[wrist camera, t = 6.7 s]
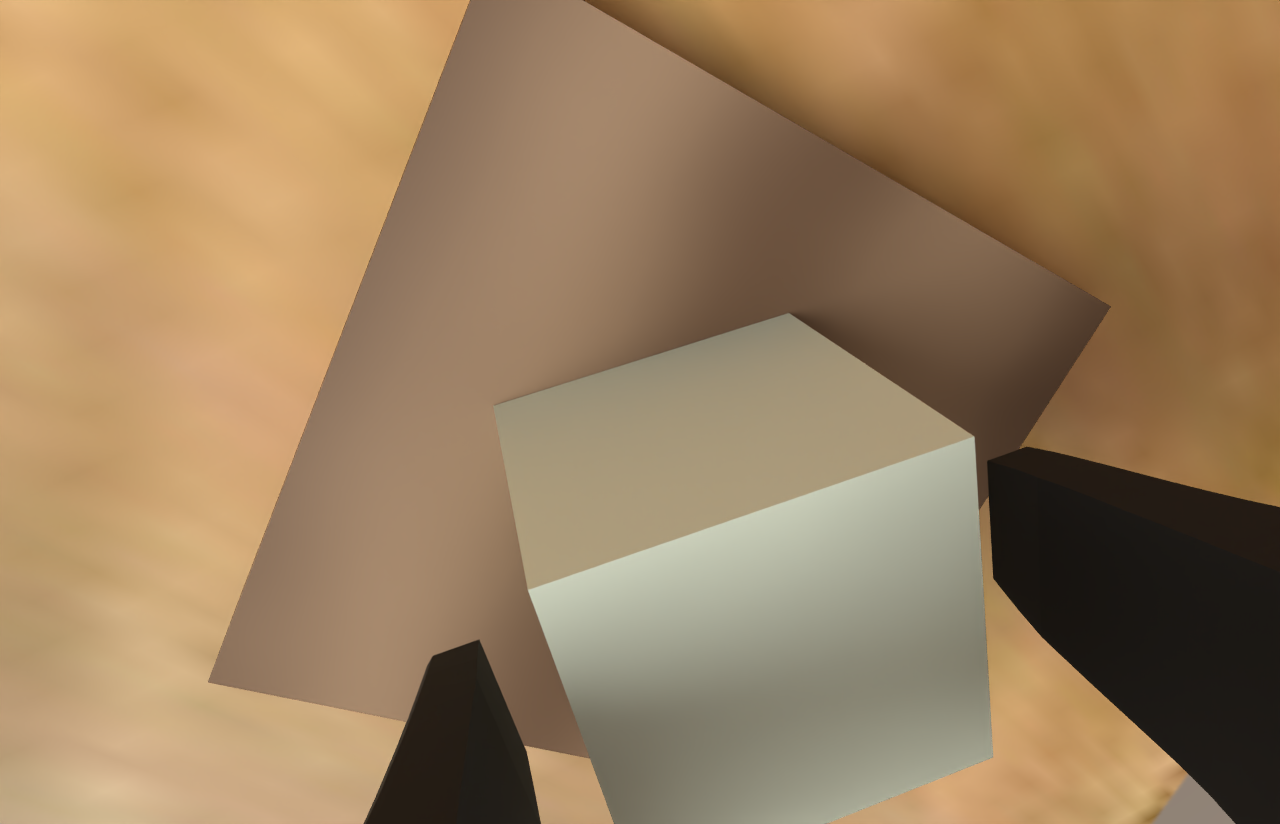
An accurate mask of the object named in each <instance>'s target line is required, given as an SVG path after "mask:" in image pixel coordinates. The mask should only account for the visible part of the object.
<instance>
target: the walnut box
mask: <svg viewBox="0 0 1280 824" xmlns="http://www.w3.org/2000/svg"><path fill="white" fill-rule="evenodd" d="M1110 307H1111V306H1109V305H1107V304H1106V303H1104V302H1102V301H1101V300H1099V299H1097V298H1095V297H1094V296H1092V295H1090V294H1088V293H1087V292H1085V291H1083V290H1082V289H1080V288H1078V287H1076V286H1075V285H1073V284H1071V283H1069V282H1068V281H1066V280H1064V279H1063V278H1061V277H1059V276H1057V275H1056V274H1054V273H1052V272H1051V271H1049V270H1047V269H1045V268H1044V267H1042V266H1040V265H1038V264H1037V263H1035V262H1033V261H1032V260H1030V259H1028V258H1026V257H1025V256H1023V255H1021V254H1019V253H1018V252H1016V251H1014V250H1013V249H1011V248H1009V247H1007V246H1006V245H1004V244H1002V243H1001V242H999V241H997V240H995V239H994V238H992V237H990V236H988V235H987V234H985V233H983V232H982V231H980V230H978V229H976V228H975V227H973V226H971V225H969V224H968V223H966V222H964V221H963V220H961V219H959V218H957V217H956V216H954V215H952V214H951V213H949V212H947V211H945V210H944V209H942V208H940V207H938V206H937V205H935V204H933V203H932V202H930V201H928V200H926V199H925V198H923V197H921V196H919V195H918V194H916V193H914V192H913V191H911V190H909V189H907V188H906V187H904V186H902V185H900V184H899V183H897V182H895V181H894V180H892V179H890V178H888V177H887V176H885V175H883V174H882V173H880V172H878V171H876V170H875V169H873V168H871V167H869V166H868V165H866V164H864V163H863V162H861V161H859V160H857V159H856V158H854V157H852V156H850V155H849V154H847V153H845V152H844V151H842V150H840V149H838V148H837V147H835V146H833V145H832V144H830V143H828V142H826V141H825V140H823V139H821V138H819V137H818V136H816V135H814V134H813V133H811V132H809V131H807V130H806V129H804V128H802V127H800V126H799V125H797V124H795V123H794V122H792V121H790V120H788V119H787V118H785V117H783V116H782V115H780V114H778V113H776V112H775V111H773V110H771V109H769V108H768V107H766V106H764V105H763V104H761V103H759V102H757V101H756V100H754V99H752V98H750V97H749V96H747V95H745V94H744V93H742V92H740V91H738V90H737V89H735V88H733V87H732V86H730V85H728V84H726V83H725V82H723V81H721V80H719V79H718V78H716V77H714V76H713V75H711V74H709V73H707V72H706V71H704V70H702V69H700V68H699V67H697V66H695V65H694V64H692V63H690V62H688V61H687V60H685V59H683V58H682V57H680V56H678V55H676V54H675V53H673V52H671V51H669V50H668V49H666V48H664V47H663V46H661V45H659V44H657V43H656V42H654V41H652V40H650V39H649V38H647V37H645V36H644V35H642V34H640V33H638V32H637V31H635V30H633V29H632V28H630V27H628V26H626V25H625V24H623V23H621V22H619V21H618V20H616V19H614V18H613V17H611V16H609V15H607V14H606V13H604V12H602V11H600V10H599V9H597V8H595V7H594V6H592V5H590V4H588V3H587V2H585V1H583V0H470V2H469V4H468V7H467V9H466V12H465V15H464V17H463V20H462V22H461V25H460V28H459V30H458V33H457V35H456V38H455V41H454V43H453V46H452V48H451V51H450V54H449V56H448V59H447V61H446V64H445V66H444V69H443V72H442V74H441V77H440V79H439V82H438V85H437V87H436V90H435V92H434V95H433V98H432V100H431V103H430V105H429V108H428V111H427V113H426V116H425V118H424V121H423V124H422V126H421V129H420V131H419V134H418V137H417V139H416V142H415V144H414V147H413V149H412V152H411V155H410V157H409V160H408V162H407V165H406V168H405V170H404V173H403V175H402V178H401V181H400V183H399V186H398V188H397V191H396V194H395V196H394V199H393V201H392V204H391V207H390V209H389V212H388V214H387V217H386V220H385V222H384V225H383V227H382V230H381V232H380V235H379V238H378V240H377V243H376V245H375V248H374V251H373V253H372V256H371V258H370V261H369V264H368V266H367V269H366V271H365V274H364V277H363V279H362V282H361V284H360V287H359V290H358V292H357V295H356V297H355V300H354V302H353V305H352V308H351V310H350V313H349V315H348V318H347V321H346V323H345V326H344V328H343V331H342V334H341V336H340V339H339V341H338V344H337V347H336V349H335V352H334V354H333V357H332V360H331V362H330V365H329V367H328V370H327V373H326V375H325V378H324V380H323V383H322V385H321V388H320V391H319V393H318V396H317V398H316V401H315V404H314V406H313V409H312V411H311V414H310V417H309V419H308V422H307V424H306V427H305V430H304V432H303V435H302V437H301V440H300V443H299V445H298V448H297V450H296V453H295V455H294V458H293V461H292V463H291V466H290V468H289V471H288V474H287V476H286V479H285V481H284V484H283V487H282V489H281V492H280V494H279V497H278V500H277V502H276V505H275V507H274V510H273V513H272V515H271V518H270V520H269V523H268V526H267V528H266V531H265V533H264V536H263V538H262V541H261V544H260V546H259V549H258V551H257V554H256V557H255V559H254V562H253V564H252V567H251V570H250V572H249V575H248V577H247V580H246V583H245V585H244V588H243V590H242V593H241V596H240V598H239V601H238V603H237V606H236V609H235V611H234V614H233V617H232V619H231V622H230V625H229V627H228V630H227V633H226V635H225V638H224V641H223V643H222V646H221V649H220V651H219V654H218V657H217V659H216V662H215V665H214V667H213V670H212V673H211V675H210V678H209V681H208V682H209V683H214V684H219V685H224V686H229V687H234V688H239V689H244V690H249V691H254V692H259V693H264V694H269V695H274V696H279V697H284V698H289V699H294V700H299V701H304V702H309V703H314V704H319V705H324V706H329V707H334V708H339V709H344V710H349V711H354V712H359V713H364V714H369V715H374V716H379V717H384V718H389V719H394V720H399V721H404V722H407V720H408V717H409V714H410V712H411V709H412V706H413V703H414V701H415V698H416V695H417V692H418V690H419V687H420V684H421V681H422V678H423V676H424V673H425V670H426V667H427V665H428V663H429V661H430V660H431V658H432V656H433V655H436V654H439V653H442V652H445V651H448V650H450V649H453V648H456V647H459V646H462V645H465V644H467V643H470V642H473V641H476V640H480V642H481V644H482V647H483V649H484V652H485V654H486V656H487V659H488V661H489V664H490V666H491V668H492V671H493V673H494V675H495V678H496V680H497V683H498V685H499V687H500V690H501V692H502V695H503V697H504V699H505V702H506V704H507V706H508V709H509V711H510V714H511V716H512V718H513V721H514V723H515V726H516V728H517V730H518V733H519V735H520V737H521V740H522V742H523V745H525V746H530V747H535V748H540V749H545V750H550V751H555V752H560V753H565V754H570V755H575V756H580V757H585V758H590V757H589V754H588V751H587V749H586V746H585V743H584V741H583V738H582V735H581V732H580V730H579V727H578V724H577V722H576V719H575V716H574V714H573V711H572V708H571V705H570V703H569V700H568V697H567V695H566V692H565V689H564V686H563V684H562V681H561V678H560V676H559V673H558V670H557V667H556V665H555V662H554V659H553V657H552V654H551V651H550V649H549V646H548V643H547V640H546V638H545V635H544V632H543V630H542V627H541V624H540V621H539V619H538V616H537V613H536V611H535V608H534V605H533V602H532V600H531V597H530V594H529V592H528V588H527V582H526V577H525V572H524V567H523V561H522V556H521V551H520V545H519V540H518V535H517V529H516V524H515V519H514V513H513V508H512V503H511V497H510V492H509V487H508V481H507V476H506V471H505V465H504V460H503V455H502V450H501V444H500V439H499V434H498V428H497V423H496V418H495V412H494V407H493V406H494V405H497V404H500V403H504V402H507V401H510V400H513V399H516V398H520V397H523V396H526V395H529V394H532V393H536V392H539V391H542V390H545V389H548V388H551V387H555V386H558V385H561V384H564V383H567V382H571V381H574V380H577V379H580V378H583V377H587V376H590V375H593V374H596V373H599V372H602V371H606V370H609V369H612V368H615V367H618V366H622V365H625V364H628V363H631V362H634V361H637V360H641V359H644V358H647V357H650V356H653V355H657V354H660V353H663V352H666V351H669V350H673V349H676V348H679V347H682V346H685V345H688V344H692V343H695V342H698V341H701V340H704V339H708V338H711V337H714V336H717V335H720V334H724V333H727V332H730V331H733V330H736V329H739V328H743V327H746V326H749V325H752V324H755V323H759V322H762V321H765V320H768V319H771V318H774V317H778V316H781V315H784V314H787V313H790V314H791V315H793V316H794V317H796V318H797V319H799V320H800V321H802V322H803V323H805V324H806V325H808V326H809V327H811V328H812V329H814V330H815V331H817V332H818V333H820V334H821V335H823V336H824V337H826V338H827V339H829V340H830V341H832V342H833V343H835V344H836V345H838V346H839V347H841V348H842V349H844V350H845V351H847V352H848V353H850V354H851V355H853V356H854V357H856V358H857V359H859V360H860V361H862V362H863V363H865V364H866V365H868V366H869V367H871V368H872V369H874V370H875V371H877V372H878V373H880V374H881V375H883V376H884V377H886V378H887V379H889V380H890V381H892V382H893V383H895V384H896V385H898V386H899V387H901V388H902V389H904V390H905V391H907V392H908V393H910V394H911V395H913V396H914V397H916V398H917V399H919V400H920V401H922V402H923V403H925V404H926V405H928V406H929V407H931V408H932V409H934V410H935V411H937V412H938V413H940V414H941V415H943V416H944V417H946V418H947V419H949V420H950V421H952V422H953V423H955V424H956V425H958V426H959V427H961V428H962V429H964V430H965V431H967V432H968V433H970V434H971V435H973V436H974V437H975V455H976V472H977V489H978V506H979V509H980V508H981V506H982V505H983V503H984V502H985V500H986V499H987V497H988V496H989V490H988V472H987V461H988V460H990V459H993V458H996V457H999V456H1002V455H1005V454H1007V453H1010V452H1013V451H1016V450H1018V449H1019V448H1020V446H1021V445H1022V443H1023V442H1024V440H1025V438H1026V437H1027V435H1028V434H1029V432H1030V431H1031V429H1032V428H1033V426H1034V425H1035V423H1036V422H1037V420H1038V418H1039V417H1040V415H1041V414H1042V412H1043V411H1044V409H1045V408H1046V406H1047V405H1048V403H1049V401H1050V400H1051V398H1052V397H1053V395H1054V394H1055V392H1056V391H1057V389H1058V388H1059V386H1060V385H1061V383H1062V381H1063V380H1064V378H1065V377H1066V375H1067V374H1068V372H1069V371H1070V369H1071V368H1072V366H1073V364H1074V363H1075V361H1076V360H1077V358H1078V357H1079V355H1080V354H1081V352H1082V351H1083V349H1084V347H1085V346H1086V344H1087V343H1088V341H1089V340H1090V338H1091V337H1092V335H1093V334H1094V332H1095V331H1096V329H1097V327H1098V326H1099V324H1100V323H1101V321H1102V320H1103V318H1104V317H1105V315H1106V314H1107V312H1108V310H1109V309H1110Z"/></svg>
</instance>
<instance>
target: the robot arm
mask: <svg viewBox="0 0 1280 824" xmlns="http://www.w3.org/2000/svg"><path fill="white" fill-rule="evenodd" d="M987 472H988V490H989V508H990V526H991V544H992V562H993V579H994V580H995V581H996V582H997V584H998V585H999V586H1000V587H1001V589H1002V590H1003V591H1004V592H1005V594H1006V595H1007V596H1008V597H1009V599H1010V600H1011V601H1012V602H1013V604H1014V605H1015V606H1016V607H1017V609H1018V610H1019V611H1020V612H1021V613H1022V615H1023V616H1024V617H1025V618H1026V619H1027V620H1028V622H1029V623H1030V624H1031V625H1032V626H1033V627H1034V628H1035V630H1036V631H1037V632H1038V633H1039V634H1040V635H1041V637H1042V638H1044V639H1045V640H1046V641H1047V642H1048V643H1049V644H1050V645H1051V646H1052V647H1053V648H1054V649H1055V650H1056V651H1057V652H1058V653H1059V654H1060V655H1061V656H1062V657H1063V658H1064V659H1066V660H1067V661H1068V662H1069V663H1070V664H1071V665H1072V666H1073V667H1074V668H1075V669H1076V670H1077V671H1078V672H1079V673H1080V674H1082V675H1083V676H1084V677H1085V678H1086V679H1087V680H1088V681H1089V682H1090V683H1091V684H1092V685H1093V686H1094V687H1095V688H1097V689H1098V690H1099V691H1100V692H1101V693H1102V694H1103V695H1104V696H1105V697H1106V698H1107V699H1109V700H1110V701H1111V702H1112V703H1113V704H1114V705H1115V706H1116V707H1117V708H1118V709H1119V710H1120V711H1122V712H1123V713H1124V714H1125V715H1126V716H1127V717H1128V718H1129V719H1130V720H1131V721H1132V722H1133V723H1135V724H1136V725H1137V726H1138V727H1139V728H1140V729H1141V730H1142V731H1143V732H1144V733H1145V734H1147V735H1148V736H1149V737H1150V738H1151V739H1152V740H1153V741H1154V742H1155V743H1156V744H1157V745H1158V746H1160V747H1161V748H1162V749H1163V750H1164V751H1165V752H1166V753H1167V754H1168V755H1169V756H1170V757H1171V758H1173V759H1174V760H1175V761H1176V762H1177V763H1178V764H1179V765H1180V766H1181V767H1182V768H1183V769H1184V770H1185V771H1186V772H1187V773H1188V774H1189V775H1190V776H1191V777H1192V778H1193V779H1194V780H1195V781H1196V782H1197V783H1198V784H1199V785H1200V786H1201V787H1202V788H1203V789H1204V790H1205V791H1206V792H1207V793H1208V794H1209V795H1210V796H1211V797H1212V798H1213V799H1214V800H1215V801H1216V802H1217V803H1218V805H1219V806H1220V807H1221V808H1222V809H1223V810H1224V811H1225V812H1226V814H1227V815H1228V816H1229V817H1230V818H1231V819H1232V820H1233V821H1234V822H1235V823H1236V824H1280V507H1276V506H1272V505H1267V504H1262V503H1257V502H1253V501H1248V500H1244V499H1240V498H1235V497H1231V496H1227V495H1223V494H1218V493H1214V492H1210V491H1206V490H1202V489H1198V488H1194V487H1190V486H1186V485H1182V484H1178V483H1174V482H1170V481H1166V480H1162V479H1158V478H1154V477H1150V476H1147V475H1143V474H1139V473H1135V472H1131V471H1127V470H1123V469H1120V468H1116V467H1112V466H1108V465H1104V464H1100V463H1096V462H1093V461H1089V460H1085V459H1081V458H1076V457H1072V456H1068V455H1064V454H1060V453H1056V452H1051V451H1046V450H1041V449H1036V448H1030V447H1025V448H1022V449H1019V450H1016V451H1013V452H1010V453H1007V454H1005V455H1002V456H999V457H996V458H993V459H990V460H988V461H987ZM364 824H541V822H540V817H539V812H538V806H537V801H536V796H535V791H534V786H533V781H532V776H531V771H530V766H529V761H528V756H527V752H526V749H525V747H524V745H523V742H522V740H521V737H520V735H519V733H518V730H517V728H516V726H515V723H514V721H513V718H512V716H511V714H510V711H509V709H508V706H507V704H506V702H505V699H504V697H503V695H502V692H501V690H500V687H499V685H498V683H497V680H496V678H495V675H494V673H493V671H492V668H491V666H490V664H489V661H488V659H487V656H486V654H485V652H484V649H483V647H482V644H481V642H480V640H476V641H473V642H470V643H467V644H465V645H462V646H459V647H456V648H453V649H450V650H448V651H445V652H442V653H439V654H436V655H433V656H432V658H431V660H430V661H429V663H428V665H427V667H426V670H425V673H424V676H423V678H422V681H421V684H420V687H419V690H418V692H417V695H416V698H415V701H414V703H413V706H412V709H411V712H410V714H409V717H408V720H407V722H406V725H405V727H404V730H403V732H402V735H401V738H400V740H399V743H398V745H397V748H396V750H395V753H394V755H393V757H392V760H391V762H390V764H389V767H388V769H387V771H386V774H385V776H384V779H383V781H382V783H381V786H380V788H379V790H378V793H377V795H376V798H375V800H374V802H373V804H372V807H371V809H370V811H369V813H368V815H367V818H366V820H365V822H364Z"/></svg>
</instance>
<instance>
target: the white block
mask: <svg viewBox="0 0 1280 824" xmlns="http://www.w3.org/2000/svg"><path fill="white" fill-rule="evenodd" d="M493 407H494V412H495V418H496V423H497V428H498V434H499V439H500V444H501V450H502V455H503V460H504V465H505V471H506V476H507V481H508V487H509V492H510V497H511V503H512V508H513V513H514V519H515V524H516V529H517V535H518V540H519V545H520V551H521V556H522V561H523V567H524V572H525V577H526V582H527V588H528V592H529V594H530V597H531V600H532V602H533V605H534V608H535V611H536V613H537V616H538V619H539V621H540V624H541V627H542V630H543V632H544V635H545V638H546V640H547V643H548V646H549V649H550V651H551V654H552V657H553V659H554V662H555V665H556V667H557V670H558V673H559V676H560V678H561V681H562V684H563V686H564V689H565V692H566V695H567V697H568V700H569V703H570V705H571V708H572V711H573V714H574V716H575V719H576V722H577V724H578V727H579V730H580V732H581V735H582V738H583V741H584V743H585V746H586V749H587V751H588V754H589V757H590V760H591V762H592V765H593V768H594V770H595V773H596V776H597V779H598V781H599V784H600V787H601V789H602V792H603V795H604V797H605V800H606V803H607V806H608V808H609V811H610V814H611V816H612V819H613V822H614V824H827V823H829V822H832V821H835V820H837V819H840V818H842V817H845V816H847V815H850V814H852V813H855V812H857V811H860V810H862V809H865V808H867V807H870V806H872V805H875V804H877V803H880V802H882V801H885V800H887V799H890V798H892V797H895V796H897V795H900V794H902V793H905V792H907V791H910V790H912V789H915V788H917V787H920V786H922V785H925V784H928V783H930V782H933V781H935V780H938V779H940V778H943V777H945V776H948V775H950V774H953V773H955V772H958V771H960V770H963V769H965V768H968V767H970V766H973V765H975V764H978V763H980V762H983V761H985V760H988V759H990V758H993V746H992V729H991V712H990V695H989V677H988V660H987V643H986V626H985V609H984V592H983V575H982V557H981V540H980V523H979V506H978V489H977V472H976V455H975V437H974V436H973V435H971V434H970V433H968V432H967V431H965V430H964V429H962V428H961V427H959V426H958V425H956V424H955V423H953V422H952V421H950V420H949V419H947V418H946V417H944V416H943V415H941V414H940V413H938V412H937V411H935V410H934V409H932V408H931V407H929V406H928V405H926V404H925V403H923V402H922V401H920V400H919V399H917V398H916V397H914V396H913V395H911V394H910V393H908V392H907V391H905V390H904V389H902V388H901V387H899V386H898V385H896V384H895V383H893V382H892V381H890V380H889V379H887V378H886V377H884V376H883V375H881V374H880V373H878V372H877V371H875V370H874V369H872V368H871V367H869V366H868V365H866V364H865V363H863V362H862V361H860V360H859V359H857V358H856V357H854V356H853V355H851V354H850V353H848V352H847V351H845V350H844V349H842V348H841V347H839V346H838V345H836V344H835V343H833V342H832V341H830V340H829V339H827V338H826V337H824V336H823V335H821V334H820V333H818V332H817V331H815V330H814V329H812V328H811V327H809V326H808V325H806V324H805V323H803V322H802V321H800V320H799V319H797V318H796V317H794V316H793V315H791V314H790V313H787V314H784V315H781V316H778V317H774V318H771V319H768V320H765V321H762V322H759V323H755V324H752V325H749V326H746V327H743V328H739V329H736V330H733V331H730V332H727V333H724V334H720V335H717V336H714V337H711V338H708V339H704V340H701V341H698V342H695V343H692V344H688V345H685V346H682V347H679V348H676V349H673V350H669V351H666V352H663V353H660V354H657V355H653V356H650V357H647V358H644V359H641V360H637V361H634V362H631V363H628V364H625V365H622V366H618V367H615V368H612V369H609V370H606V371H602V372H599V373H596V374H593V375H590V376H587V377H583V378H580V379H577V380H574V381H571V382H567V383H564V384H561V385H558V386H555V387H551V388H548V389H545V390H542V391H539V392H536V393H532V394H529V395H526V396H523V397H520V398H516V399H513V400H510V401H507V402H504V403H500V404H497V405H494V406H493Z"/></svg>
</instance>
